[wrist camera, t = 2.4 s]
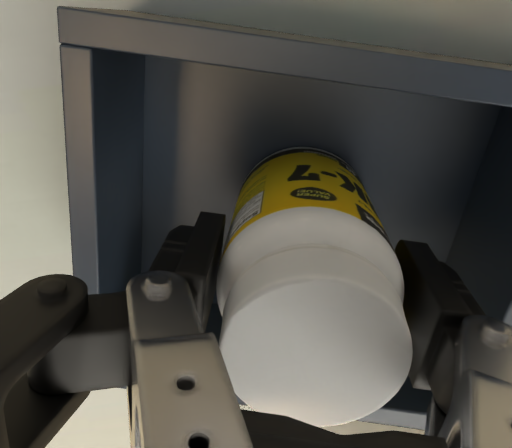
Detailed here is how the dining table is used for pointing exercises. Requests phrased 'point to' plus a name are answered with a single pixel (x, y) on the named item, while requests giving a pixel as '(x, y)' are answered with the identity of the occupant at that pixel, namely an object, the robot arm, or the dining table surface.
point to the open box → (279, 144)
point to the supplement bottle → (311, 293)
